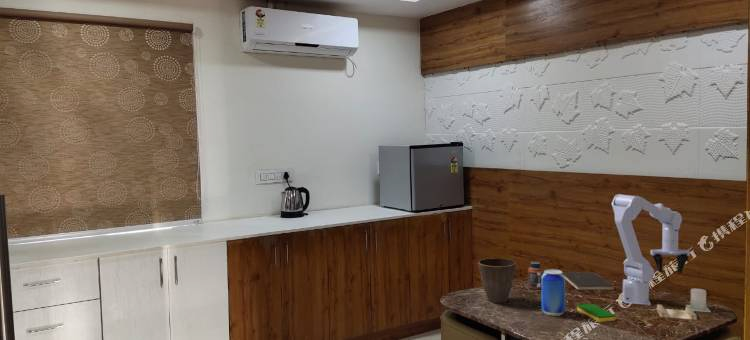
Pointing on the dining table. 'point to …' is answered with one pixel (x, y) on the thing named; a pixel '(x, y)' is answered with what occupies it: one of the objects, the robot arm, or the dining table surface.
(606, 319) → the dish sponge
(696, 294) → the white domed cylinder
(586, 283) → the hardcover book
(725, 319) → the dining table surface
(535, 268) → the supplement bottle
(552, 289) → the beer can
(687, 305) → the mat
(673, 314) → the cradle
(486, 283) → the plant pot
